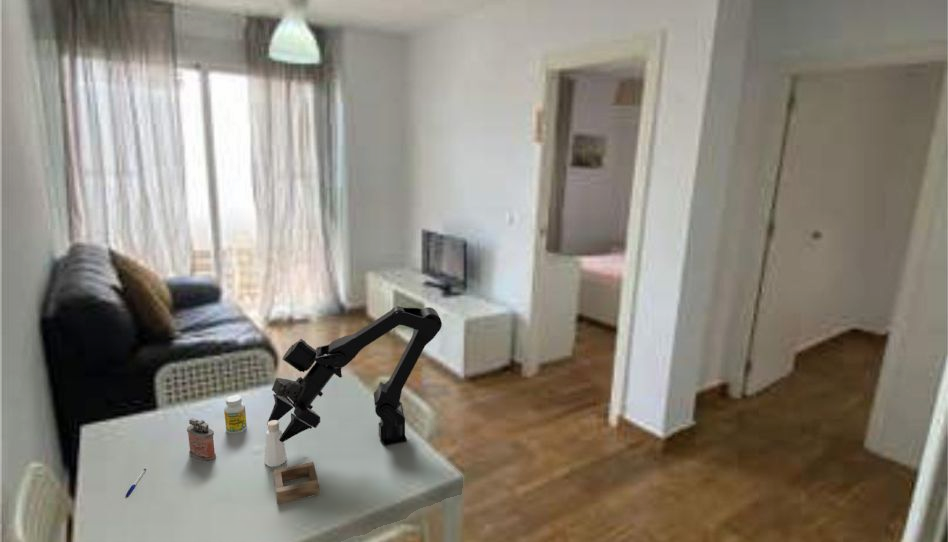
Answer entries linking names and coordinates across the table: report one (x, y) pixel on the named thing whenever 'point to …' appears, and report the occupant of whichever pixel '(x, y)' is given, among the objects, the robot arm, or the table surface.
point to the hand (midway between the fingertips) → (274, 433)
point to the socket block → (298, 489)
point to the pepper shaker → (274, 445)
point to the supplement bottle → (235, 415)
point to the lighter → (201, 441)
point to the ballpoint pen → (134, 484)
